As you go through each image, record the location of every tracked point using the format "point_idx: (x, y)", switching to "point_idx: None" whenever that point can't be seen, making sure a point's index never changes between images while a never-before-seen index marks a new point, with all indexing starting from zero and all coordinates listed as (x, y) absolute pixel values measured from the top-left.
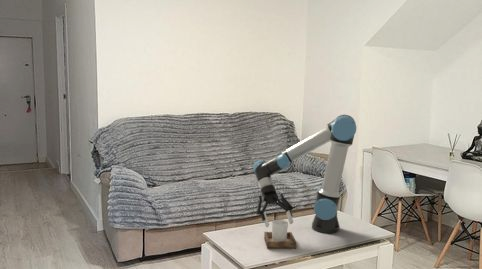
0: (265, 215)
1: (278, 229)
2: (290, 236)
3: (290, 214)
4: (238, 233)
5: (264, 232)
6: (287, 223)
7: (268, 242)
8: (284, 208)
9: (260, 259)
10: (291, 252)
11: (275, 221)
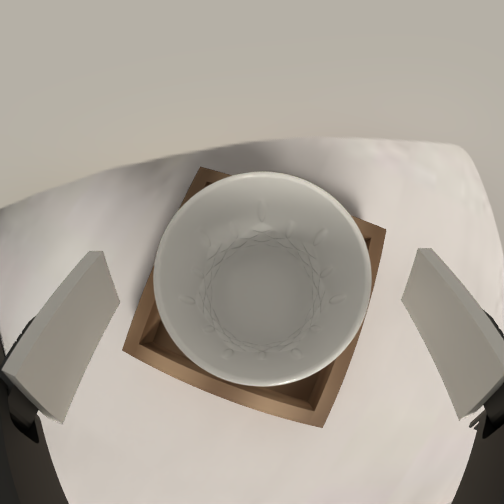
0: (493, 335)
1: (313, 217)
2: (156, 312)
3: (38, 317)
4: (402, 487)
5: (325, 419)
6: (191, 199)
7: (379, 228)
8: (38, 469)
9: (422, 152)
10: (257, 160)
11: (281, 372)
